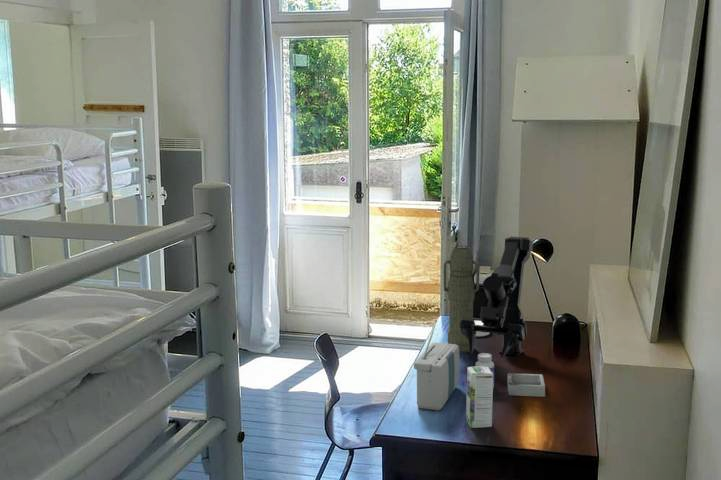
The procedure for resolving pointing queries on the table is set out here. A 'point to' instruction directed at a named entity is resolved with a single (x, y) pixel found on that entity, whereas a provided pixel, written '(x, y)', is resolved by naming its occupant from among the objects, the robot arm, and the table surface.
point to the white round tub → (480, 332)
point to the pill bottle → (486, 362)
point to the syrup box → (479, 397)
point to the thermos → (460, 293)
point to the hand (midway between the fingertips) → (486, 355)
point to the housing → (526, 385)
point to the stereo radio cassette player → (437, 374)
